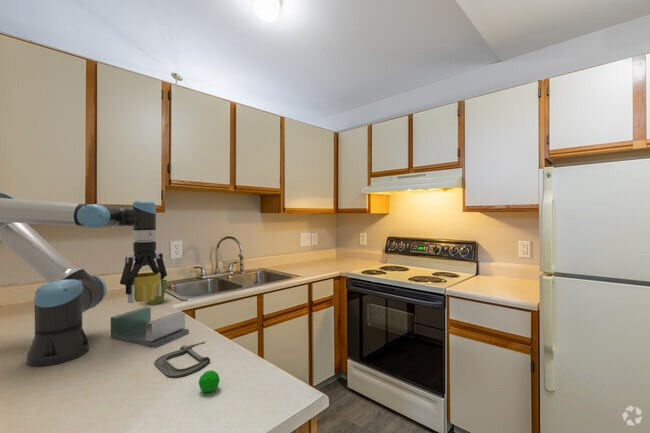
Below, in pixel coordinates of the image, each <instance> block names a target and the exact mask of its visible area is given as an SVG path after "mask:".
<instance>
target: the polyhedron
mask: <svg viewBox="0 0 650 433" xmlns="http://www.w3.org/2000/svg"><path fill="white" fill-rule="evenodd" d="M220 381H221V380H220V376H219V373H218V372H217V371H215V370H212V369H210V370H206V371H205V372H204V373H202V374H201V376H200V377H199V380H198V386H199V388H200V391H202V392H203V393H206V392H207V393H212V392H214V391H215V390H216V389H217V388H218V387H219V384H220Z"/></svg>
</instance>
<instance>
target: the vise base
mask: <svg viewBox="0 0 650 433" xmlns="http://www.w3.org/2000/svg"><path fill="white" fill-rule="evenodd" d="M151 311H152V307H149V306H144V307H141V308H138V309H135V310H131V311H126V312H124V313H122V314H118V315H117V314H116V315H114V316H111V317H110V338H112V339H115V340H119V341H120V340H121V341H125V342H130V343H134V344H138V345H143V346H147V347H151V348H155V349H156V348H158V347H161V346H163V345H166V344H168V343H170V342H173V341H174V340H177V339H180V338H181V337H183V336H186V335H188V334H190V332H189V331H190V330H189V329H188V328H183V329H181V330H179V331H176V332H174V333H171V334H169V335H167V336H164V337H162V338H159V339H157V340H155V341H147V340H146V323H148V322H150V321H152V317H151V316H152V314H151Z"/></svg>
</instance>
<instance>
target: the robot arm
mask: <svg viewBox="0 0 650 433" xmlns="http://www.w3.org/2000/svg"><path fill="white" fill-rule="evenodd" d="M156 208H157V207H156V202H154V201H152V200H151V201H150V200H134V201H133V202H132V205H129V206H123V205H121V206H120V205H119V206H118V205H116V206H115V205H106V204H105V205H104V204H96V203H89V204H88V203H80V202H78V203H77V202H64V201H49V200H34V199H19V198H15V196H12V195H10V194H6V193H3V192H0V241H1V242H2V243H4V244H5V245H6V246H7V247H8V248H9V249H10V250H11V251H12V252H13V253H14V254H15V255H17V256H18V257H19V258H20V259H21V260H22V261H23V262H25V263H26V264H27V265H28V267H30V268H31V269H32V270H34V272H35V273H37V275H39V276H40V277H41V278H42V279H43V280H44V281H45V282H47V283H45V284H42V285H41V286H38V287H37V288H36V290H35V291H34V298H33V304H34V337H33V340H32V342H31V345H30V347H29V349H28V352H27V355H26V364H27V365H28V366H32V367H45V366H53V365H58V364H61V363H65V362H68V361H72V360H74V359H76V358H77V359H78V358H79V357H81V356H83V355H85V354H86V353H88V351H89V350H90V342H89V339H88V337H87V334H86V332H85V330H84V328H83V313H84V312H87V311H88V310H90V309H93V308H95V307H96V306H97V305H99V304H100V303H101V302H102V301H103V300H104V298H105V297H106V295H107V289H108V288H107V285H106V284H107V283H106V282H105V281H104V280H103V278H101V277H100V276H98V275H97V276H96V275H91V274H89V273H88V271H86V270H85V269H84V268H78V267H77V268H76V267H75V266H73V264H72V263H71V262H70V261H68V260H67V259H66V258H65V257H64V256H63V255H62V254H61V253H60V252H59V251H57V249H55V248H54V247H53V246H52V245H51V244H50V243H48V241H47V240H46V239H44V238H43V237H42V236H41V235H40V234H39V233H38V232H37V231H36V230H35V229H34V228H32V226H30V225H29V224H34V225H54V226H70V227H71V226H73V227H86V228H93V229H94V228H95V229H97V228H102V227H103V228H104V227H105V228H106V227H108V228H109V227H132V233H133V234H132V240H133V243H132V244H133V245H132V246H133V247H132V248H133V251H132V252H133V256H125V258H124V261H125V262H124V267H123V270H122V273H121V277H120V281H119V284H120V285H121V286H122V285H124V286H125V294H126V295H127V303H128V304H135V303H136V301H135V285H132V284H133V282H134V278H135V277H136V276H137V274H138V273H140V270H141V269H142V268H143V267H145V266H148V267H149V268H150V270H151V272H153V273H160V274H161V278H160V282H159V283H158V288H157V292H156V296H161V287H162V279H165V277H167V276H168V273H167V269H166V266H165V262H164V259H163V257H164V256H163V255H164V254H163V253H162V252H157V253H156V250H157V242H156V239H157V230H156V229H157V228H156V226H157V212H156Z"/></svg>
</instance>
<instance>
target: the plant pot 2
mask: <svg viewBox="0 0 650 433" xmlns="http://www.w3.org/2000/svg"><path fill="white" fill-rule="evenodd" d="M168 282H169V280H168V279H165V278H164V279H162V287H161V296H156V297H155V299H154V300H151V301H146V302H147V304H148V305H156V304H157V305H159V304H163V303H164V299H165V294H166V289H167V284H168Z"/></svg>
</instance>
